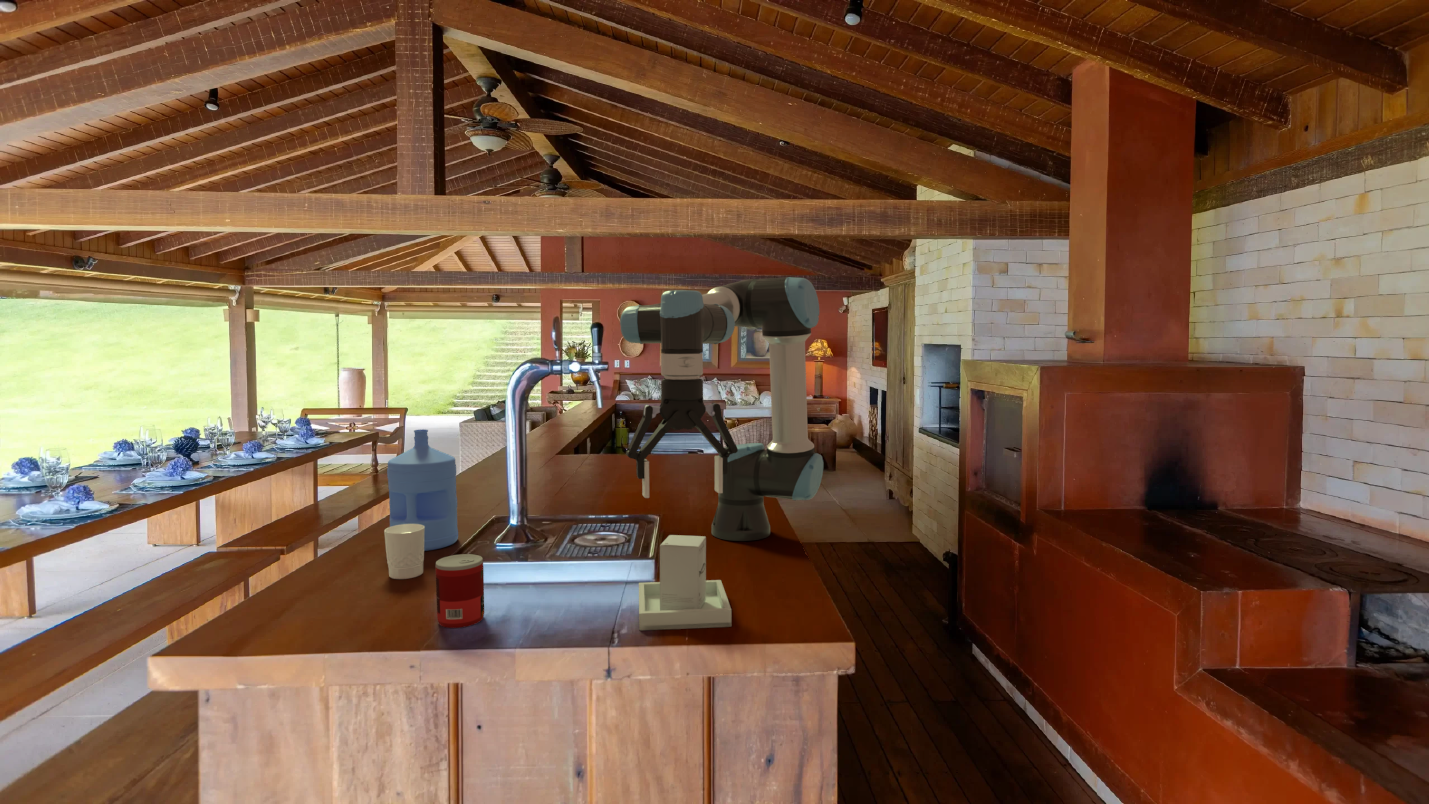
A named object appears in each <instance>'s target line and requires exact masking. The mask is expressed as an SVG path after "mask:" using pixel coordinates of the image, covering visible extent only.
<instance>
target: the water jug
mask: <svg viewBox="0 0 1429 804" xmlns="http://www.w3.org/2000/svg"><path fill="white" fill-rule="evenodd" d="M428 432H429V429H426V428H425V429H424V428H423V429H415V430H413V433H414V436H413V440H414V446H413V447H412V448H410V449H408V450H405V452H402V453H401V454H399V455H396V456H395V457H393V458H390V459H389V460H388V461H387V469H386V471H387V472H386V473H387V474H386V476H387V483H388V495H389V502H388V503H389V527H391V526H395V525H401V524H420V525H423V526H424V527H425V533H424V552H427V551H434V550H439V549H443V548H446V547H449V546H451V545H454V544H455V543H456V542H457V541H458V539H459V529H458V497H457V464H456V458H455V457H454V456H453V455H450V454H449V453H446V452H443V451H440V450H438V449H435V448H433V447H431V446H430V445H429V435H428Z"/></svg>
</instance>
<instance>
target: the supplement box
mask: <svg viewBox="0 0 1429 804" xmlns="http://www.w3.org/2000/svg"><path fill="white" fill-rule="evenodd" d="M706 580H707V537H706V536H705V535H704V536H703V535H702V536H701V535H680V534H679V535H678V534H669V535H668V536H667V537H666V538H665V539H664V540H663V541H662V542H661V543H660V545H659V582H660V611H663V610H689V609H701V607H702V606H703V604H704V602H705V601H706Z"/></svg>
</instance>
